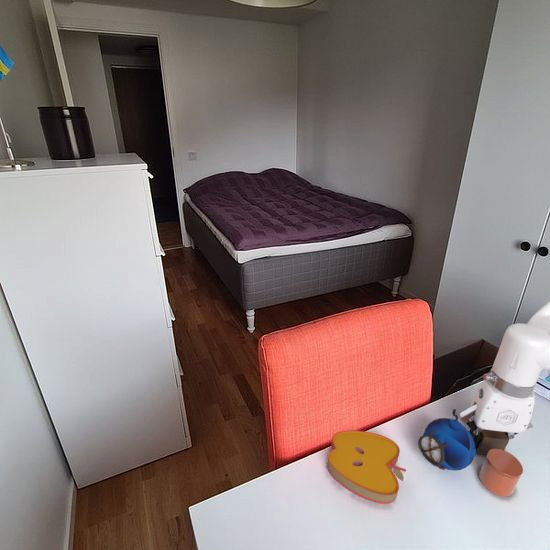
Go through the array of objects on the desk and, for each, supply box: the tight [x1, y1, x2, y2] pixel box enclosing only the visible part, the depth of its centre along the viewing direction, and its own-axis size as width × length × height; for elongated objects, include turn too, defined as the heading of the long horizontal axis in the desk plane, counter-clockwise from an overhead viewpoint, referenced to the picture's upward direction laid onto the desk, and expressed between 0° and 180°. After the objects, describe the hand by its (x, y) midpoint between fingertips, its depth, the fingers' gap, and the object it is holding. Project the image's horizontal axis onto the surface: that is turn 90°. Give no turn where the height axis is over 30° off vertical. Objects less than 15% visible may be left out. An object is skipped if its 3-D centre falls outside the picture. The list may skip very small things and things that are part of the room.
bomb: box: [417, 408, 477, 471], centre depth 70 cm, size 10×11×15 cm
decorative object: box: [326, 429, 407, 505], centre depth 70 cm, size 14×4×15 cm
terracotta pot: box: [478, 449, 524, 498], centre depth 68 cm, size 6×6×6 cm
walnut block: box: [476, 429, 510, 455], centre depth 76 cm, size 5×5×5 cm
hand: (485, 443), depth 77 cm, fingers closed on walnut block, 5 cm apart
